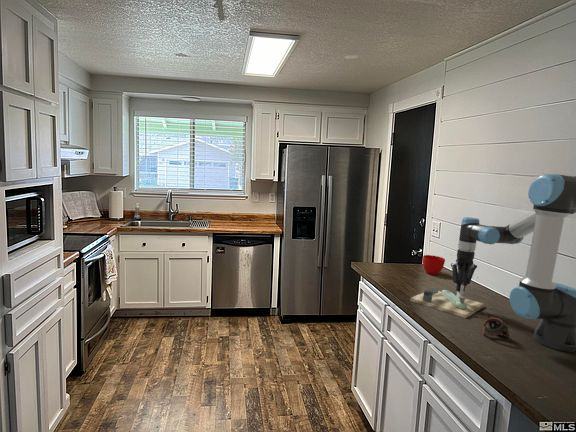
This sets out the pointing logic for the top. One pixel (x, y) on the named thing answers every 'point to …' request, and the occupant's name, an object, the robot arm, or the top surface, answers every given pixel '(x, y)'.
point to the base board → (449, 304)
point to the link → (454, 299)
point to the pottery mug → (495, 327)
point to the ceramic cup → (433, 264)
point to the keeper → (429, 294)
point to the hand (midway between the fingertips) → (459, 297)
